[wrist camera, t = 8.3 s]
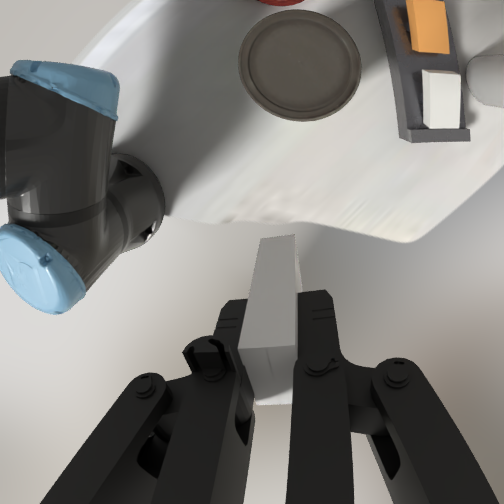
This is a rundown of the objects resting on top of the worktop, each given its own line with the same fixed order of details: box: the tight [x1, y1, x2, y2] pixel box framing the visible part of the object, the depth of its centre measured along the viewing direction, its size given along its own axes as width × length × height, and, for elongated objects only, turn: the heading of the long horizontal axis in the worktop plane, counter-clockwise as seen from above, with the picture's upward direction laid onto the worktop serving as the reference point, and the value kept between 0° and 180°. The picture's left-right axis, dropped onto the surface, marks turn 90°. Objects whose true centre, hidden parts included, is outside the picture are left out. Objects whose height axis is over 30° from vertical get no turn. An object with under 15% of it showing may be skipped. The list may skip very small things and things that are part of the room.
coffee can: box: [238, 9, 361, 122], centre depth 27 cm, size 10×10×14 cm
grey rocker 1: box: [422, 69, 461, 129], centre depth 27 cm, size 7×4×2 cm, turn 12°
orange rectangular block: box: [406, 0, 450, 54], centre depth 23 cm, size 7×4×2 cm, turn 11°
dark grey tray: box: [374, 0, 470, 143], centre depth 26 cm, size 30×9×5 cm, turn 12°
